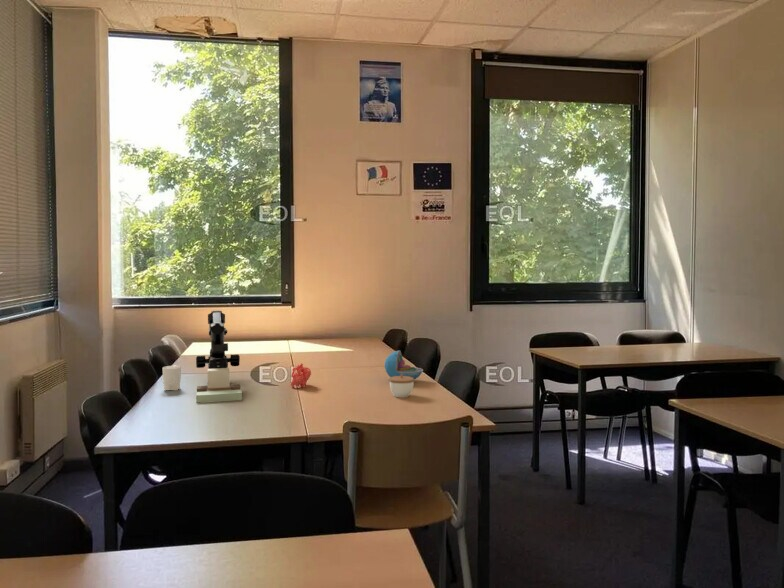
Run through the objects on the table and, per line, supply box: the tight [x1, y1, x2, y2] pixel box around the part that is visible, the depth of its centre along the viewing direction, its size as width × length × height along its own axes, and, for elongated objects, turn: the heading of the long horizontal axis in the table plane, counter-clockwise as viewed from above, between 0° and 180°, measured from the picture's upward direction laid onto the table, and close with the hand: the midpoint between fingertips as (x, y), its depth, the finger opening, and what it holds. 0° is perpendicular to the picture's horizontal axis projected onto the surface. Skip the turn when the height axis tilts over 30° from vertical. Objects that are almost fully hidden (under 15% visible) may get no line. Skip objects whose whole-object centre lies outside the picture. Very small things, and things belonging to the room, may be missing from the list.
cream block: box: [207, 367, 230, 388], centre depth 262 cm, size 6×9×8 cm, turn 107°
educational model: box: [384, 350, 424, 381], centre depth 291 cm, size 16×19×15 cm
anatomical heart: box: [290, 362, 312, 388], centre depth 278 cm, size 9×12×12 cm
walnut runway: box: [196, 383, 241, 393], centre depth 260 cm, size 12×18×3 cm
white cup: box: [162, 365, 182, 391], centre depth 270 cm, size 8×8×10 cm
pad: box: [195, 389, 243, 403], centre depth 251 cm, size 6×18×3 cm, turn 107°
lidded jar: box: [388, 374, 415, 399], centre depth 261 cm, size 11×11×9 cm
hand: (218, 376), depth 265 cm, fingers closed
